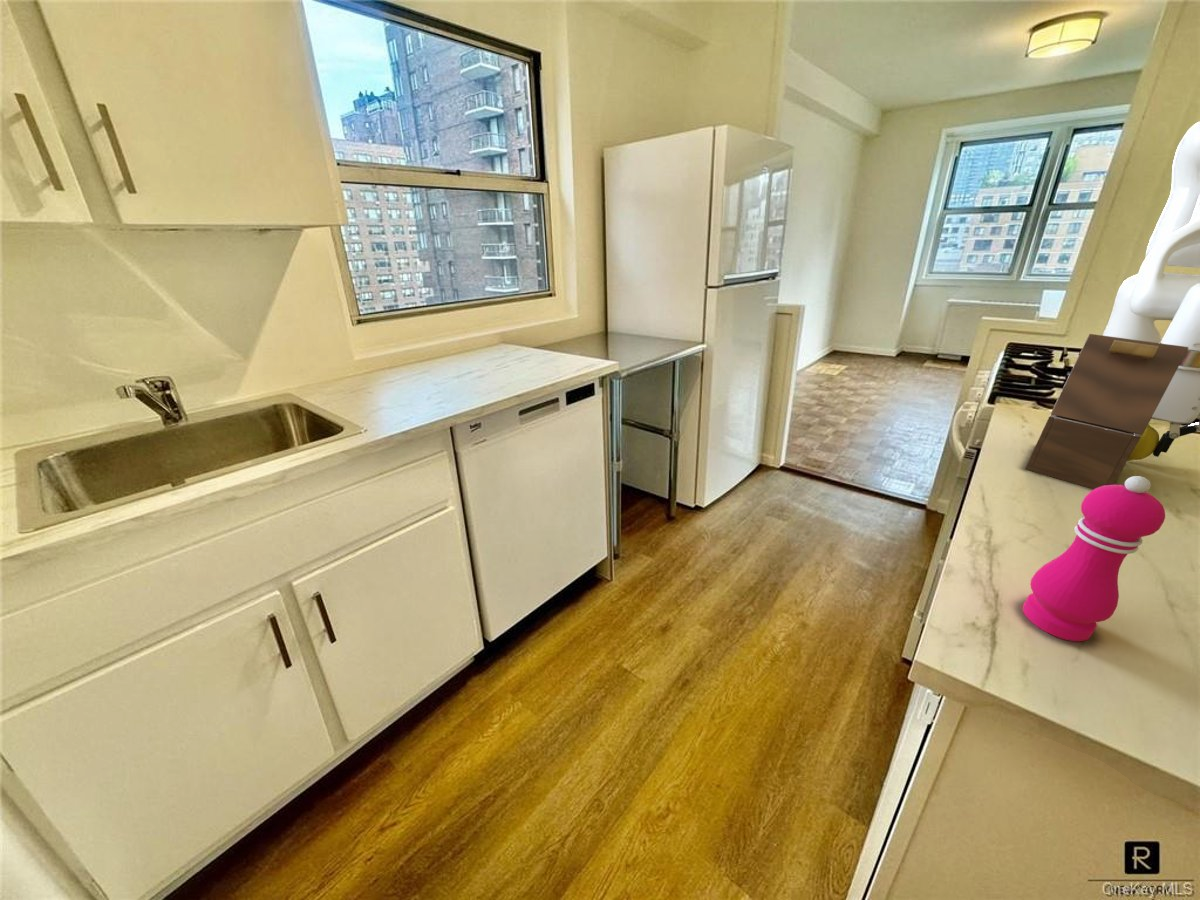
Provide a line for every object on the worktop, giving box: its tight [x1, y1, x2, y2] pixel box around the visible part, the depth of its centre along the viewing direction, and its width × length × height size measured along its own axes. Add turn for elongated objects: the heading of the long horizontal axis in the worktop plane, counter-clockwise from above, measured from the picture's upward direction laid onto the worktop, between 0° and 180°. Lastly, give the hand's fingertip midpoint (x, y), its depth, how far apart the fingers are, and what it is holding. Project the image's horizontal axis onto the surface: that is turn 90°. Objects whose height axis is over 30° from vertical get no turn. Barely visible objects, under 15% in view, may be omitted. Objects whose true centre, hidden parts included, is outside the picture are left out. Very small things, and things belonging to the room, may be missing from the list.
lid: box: [1050, 333, 1189, 435], centre depth 79 cm, size 14×12×6 cm
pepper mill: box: [1022, 475, 1166, 642], centre depth 53 cm, size 7×7×20 cm
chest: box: [1024, 414, 1141, 490], centre depth 89 cm, size 14×12×11 cm
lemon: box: [1127, 423, 1160, 462], centre depth 92 cm, size 6×6×8 cm
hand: (1132, 447), depth 93 cm, fingers closed on lemon, 5 cm apart
